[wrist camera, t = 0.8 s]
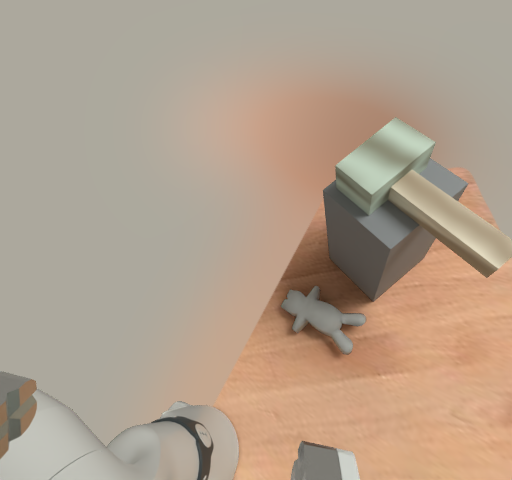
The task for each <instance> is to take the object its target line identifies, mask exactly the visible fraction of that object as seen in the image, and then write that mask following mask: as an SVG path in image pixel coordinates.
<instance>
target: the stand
mask: <svg viewBox="0 0 512 480" xmlns="http://www.w3.org/2000/svg"><path fill="white" fill-rule="evenodd" d="M419 175H421V176H422V177H424V178H425V179H426V180H428V181H429V182H431V183H432V184H434V185H435V186H436V187H438V188H439V189H441V190H442V191H444V192H445V193H446V194H448V195H449V196H451V197H452V198H454V199H455V200H456V201H458V200H459V198H460V197H461V195H462V193H463V192H464V190H465V188H466V187H467V185H468V183H467V182H465V181H464V180H462V179H461V178H459V177H458V176H456V175H455V174H453V173H452V172H450V171H449V170H447V169H446V168H444V167H443V166H441V165H440V164H438V163H437V162H435V161H433V160H432V159H431V158H430V159H429V162H428V165H427V167H426V169H425V170H423V171H422V172H421V173H420V174H419ZM323 196H324V206H325V216H326V226H327V236H328V246H329V256H330V259H331V260H332V261H333V262H334V263H335V264H336V265H337V266H338V267H339V268H340V269H341V270H342V271H343V272H344V273H345V274H346V275H347V276H348V277H349V278H350V279H351V280H352V281H353V282H354V283H355V284H356V285H357V286H358V287H359V288H360V289H361V290H362V291H363V292H364V293H365V294H366V295H367V296H368V297H369V298H370V299H371V300H372V301H373V302H374V301H375V300H376V299H377V298H378V297H379V296H381V295H382V294H383V293H384V292H385V291H386V290H387V289H389V288H390V287H391V286H392V285H393V284H394V283H396V282H397V281H398V280H399V279H400V278H401V277H403V276H404V275H405V274H406V273H407V272H408V271H410V270H411V269H412V268H413V267H414V266H415V265H417V264H418V263H419V262H420V261H421V260H422V259H423V258H424V257H425V255H426V253H427V252H428V250H429V248H430V247H431V245H432V243H433V242H434V240H435V238H436V237H434V236H433V235H432V234H431V233H429V232H428V231H427V230H425V229H424V228H423V227H422V226H420V225H419V224H418V223H417V222H415V221H414V220H413V219H411V218H410V217H409V216H408V215H406V214H405V213H404V212H403V211H401V210H400V209H399V208H397V207H396V206H395V205H394V204H392V203H391V202H390V201H389V200H387V201H386V202H385V203H384V204H382V205H381V206H380V207H379V208H378V209H376V210H375V211H374V212H373V213H371V214H370V215H368V214H367V213H365V212H364V211H363V210H362V209H361V208H360V207H358V206H357V205H356V204H355V203H354V202H352V201H351V200H350V199H349V198H348V197H347V196H345V195H344V194H343V193H342V192H341V191H339V190H338V189H337V188H336V180H335V181H334V182H332V183H331V184H330V185H329V186H328V187H326V188H325V189H324V190H323Z"/></svg>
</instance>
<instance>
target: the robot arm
mask: <svg viewBox="0 0 512 480" xmlns="http://www.w3.org/2000/svg"><path fill="white" fill-rule="evenodd" d="M238 457H239V445H238V438H237V435H236V432H235V429H234V427H233V425H232V423H231V422H230V420H229V419H228V418H227V416H226V415H225V414H224V413H222V412H221V411H220V410H218V409H216V408H214V407H211V406H207V405H199V406H192V405H189V404H187V403H185V402H182V401H178V402H175V403H174V404H173V405H172V406H171V407H170V408H169V410H168V411H165V412H163V414H162V416H161V417H160V419H158V420H155V421H153V422H151V423H150V424H144V425H137V426H133V427H130V428H128V429H126V430H124V431H123V432H121V433H120V434H119V435H118V436H116V437H115V438H114V439H113V440H112V441H111V442H110V443H109V444H108V446H107V447H106V446H105V445H104V444H103V443H102V442H101V441H100V440H99V439H98V438H97V436H96V435H95V434H94V433H93V432H92V431H91V430H90V429H89V428H88V426H87V425H86V424H85V423H84V422H83V421H82V420H81V419H80V418H79V416H78V415H77V414H76V413H75V412H74V411H73V410H72V409H71V408H69V407H68V406H66V405H65V404H63V403H61V402H60V401H58V400H57V399H55V398H53V397H52V396H50V395H48V394H47V393H45V392H43V391H41V390H39V389H37V388H36V381H34V380H32V379H28V378H25V377H21V376H17V375H13V374H9V373H6V372H2V371H0V480H233V478H234V474H235V471H236V468H237V464H238ZM291 480H360V477H359V472H358V468H357V463H356V459H355V455H354V454H353V452H350V451H346V450H341V449H337V448H333V447H329V446H324V445H319V444H315V443H310V442H305V441H302V442H301V443H300V446H299V449H298V459H297V460H296V461H295V462H294V465H293V469H292V474H291Z"/></svg>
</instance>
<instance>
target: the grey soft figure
mask: <svg viewBox="0 0 512 480" xmlns="http://www.w3.org/2000/svg"><path fill="white" fill-rule="evenodd" d="M320 291H321V290H320V288H319V287H318V286H314V288H313V289H312V290H311V292H310V293H309V294H308V296H307V297H305V296H304V295H303V294H302V293H301V292H300V291H293V290H291V289H290V291H289V293H288V294H287V298H288V299H285V300H284V302H283V303H282V305H281V307H282V308H283V309H284V310H286V311H287V312H288V313H290V314H291V315H292V316H294V317H296V319H295V322H294V324H293V327H292V329H293V330H294V331H295V332H296V333H299V332H300V331H301V330H302V329H303V328H304V327H305V326H306V325H307V324H308V323H310V324H311V325H312V326H313V327H314V328H315V329H317V330H318V331H319V332H321V333H323V334H325V335H327V336H330V337H332V339H333V340H334V342H335V344H336V345H337V347H338V348H339V350H340V351H341V352H342V353H343V354H346V355H348V354H350V353H351V351H352V347H353V343H352V341H351V340H350V339H349V338H348V337H347V336H346V335H345V334H344V333H343V332H342V331H341V330H339V329H340V328H341V326H342V323H343V324H348V325H353V326H362V325H363V324H364V323H365V322H366V317H365V315H364V314H361V313H345V314H343V313H342V312H340V311H339V310H338V309H337V308H335V307H334V306H332V305H330V304H328V303H326V302H322V301H319V297H320Z"/></svg>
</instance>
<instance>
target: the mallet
mask: <svg viewBox="0 0 512 480" xmlns="http://www.w3.org/2000/svg"><path fill="white" fill-rule="evenodd" d="M435 143H436V142H434V141H432V140H431V139H429V138H428V137H426V136H425V135H423V134H421V133H420V132H418V131H417V130H415V129H413V128H412V127H410V126H409V125H407V124H406V123H404V122H402V121H401V120H399V119H398V118H396V117H395V118H394V119H393V120H392V121H391V122H389V123H388V124H387V125H385V126H384V127H383V128H382V129H381V130H379V131H378V132H377V133H375V135H373V136H372V137H371V138H369V139H368V140H367V141H365V142H364V143H363V144H362V145H360V146H359V147H358V148H357V149H355V150H354V151H353V152H352V153H351V154H349V155H348V156H347V157H346V158H344V159H343V160H342V161H341V162H339V163H338V164H337V165H336V188H337V189H338V190H339V191H341V192H342V193H343V194H344V195H345V196H347V197H348V198H349V199H350V200H351V201H352V202H354V203H355V204H356V205H357V206H358V207H360V208H361V209H362V210H363V211H364V212H365V213H367V214H368V215H370V214H371V213H373V212H374V211H375V210H376V209H378V208H379V207H380V206H381V205H382V204H384V203H385V202H386V201H387V200H389V201H390V202H391V203H392V204H394V205H395V206H396V207H397V208H399V209H400V210H401V211H403V212H404V213H405V214H406V215H408V216H409V217H410V218H411V219H413V220H414V221H415V222H417V223H418V224H419V225H420V226H422V227H423V228H424V229H425V230H427V231H428V232H429V233H431V234H432V235H433V236H434V237H436V238H437V239H438V240H439V241H441V242H442V243H443V244H444V245H446V246H447V247H448V248H450V249H451V250H452V251H453V252H455V253H456V254H457V255H458V256H460V257H461V258H462V259H464V260H465V261H466V262H467V263H469V264H470V265H471V266H472V267H474V268H475V269H476V270H477V271H479V272H480V273H481V274H483V275H484V276H485V277H486V278H488V277H489V276H490V275H491V274H493V273H494V272H495V271H496V270H498V269H499V268H500V267H501V266H502V265H503V264H504V263H506V262H507V261H508V260H509V259H510V258H511V257H512V239H510V238H509V237H507V236H506V235H505V234H503V233H502V232H501V231H499V230H498V229H496V228H495V227H494V226H492V225H491V224H489V223H488V222H486V221H485V220H484V219H482V218H481V217H479V216H478V215H476V214H475V213H474V212H472V211H471V210H469V209H468V208H466V207H465V206H464V205H462V204H461V203H459V202H458V201H456V200H455V199H454V198H452V197H451V196H449V195H448V194H446V193H445V192H444V191H442V190H441V189H439V188H438V187H436V186H435V185H434V184H432V183H431V182H429V181H428V180H426V179H425V178H424V177H422V176H421V175H419V174H420V173H421V172H422V171H423V170H425V169H426V167H427V165H428V162H429V159H430V157H431V154H432V151H433V148H434V146H435Z"/></svg>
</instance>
